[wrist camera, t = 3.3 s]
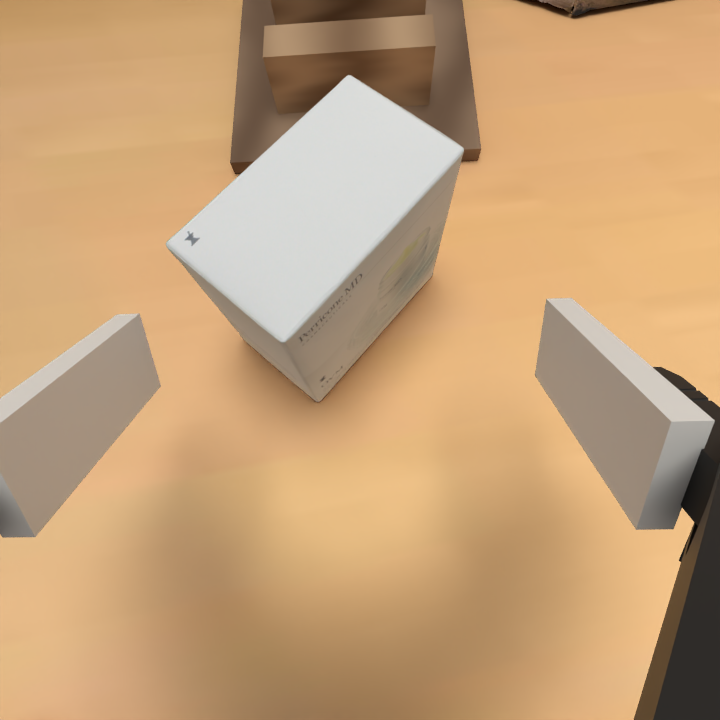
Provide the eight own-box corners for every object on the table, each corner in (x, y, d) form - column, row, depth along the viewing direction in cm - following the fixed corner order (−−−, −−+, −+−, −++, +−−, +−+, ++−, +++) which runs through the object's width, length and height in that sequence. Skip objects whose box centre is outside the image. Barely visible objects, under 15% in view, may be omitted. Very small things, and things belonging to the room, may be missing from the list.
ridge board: (235, 173, 30) (206, 111, 25) (247, 1, 34) (226, -79, 30) (477, 160, 29) (496, 93, 24) (456, -14, 34) (468, -98, 29)
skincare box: (323, 408, 25) (281, 347, 15) (241, 339, 26) (154, 240, 16) (439, 276, 27) (472, 143, 17) (357, 219, 28) (343, 65, 18)
